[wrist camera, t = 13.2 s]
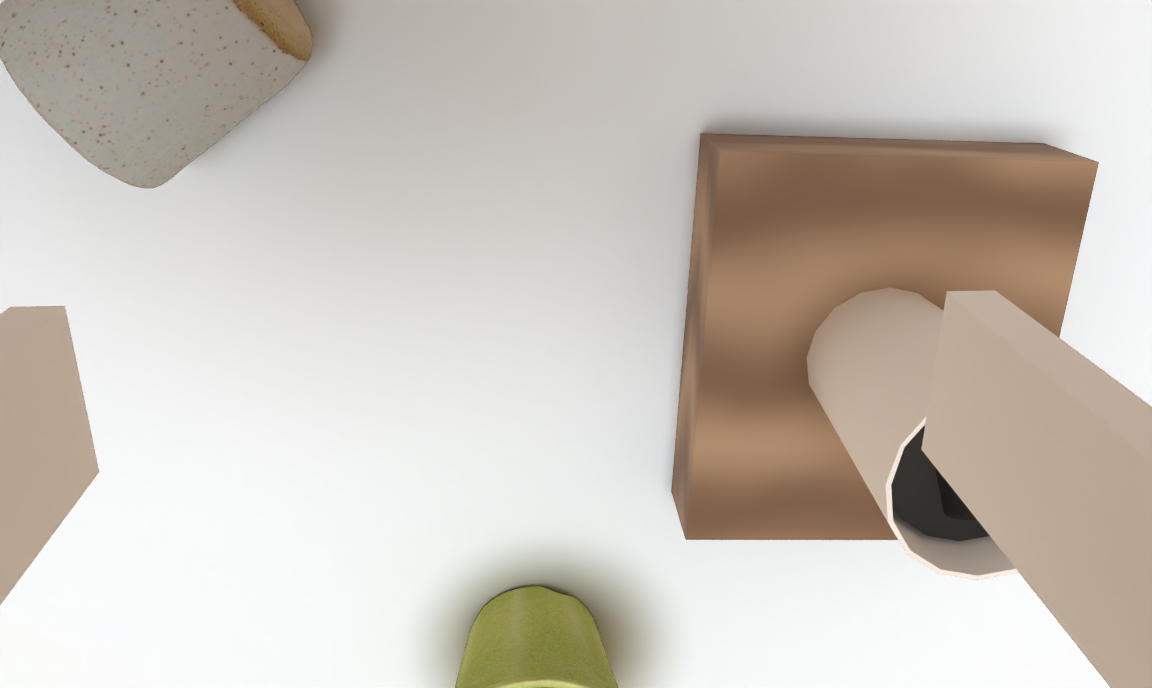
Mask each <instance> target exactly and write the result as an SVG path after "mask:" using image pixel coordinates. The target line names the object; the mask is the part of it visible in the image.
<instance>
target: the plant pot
mask: <svg viewBox="0 0 1152 688" xmlns="http://www.w3.org/2000/svg"><path fill="white" fill-rule="evenodd" d="M455 688H618V686H617V683H616V680H615V678H614V675H613V672H612V670H611V667H610V664H609V662H608V659H607V656H606V653H605V650H604V647H603V644H602V641H601V638H600V636H599V633H598V630H597V627H596V624H595V621H594V619H593V617H592V615H591V614H590V612H589V611H588V610H587V608H586V607H585V606H584V605H583V604H582V603H581V602H580V601H579V600H577V599H576V598H574V597H573V596H569V595H564V594H561V593H558V592H554V591H552V590H549V589H547V588H544V587H540V586H531V587H522V588H518V589H514V590H511V591H508V592H505V593H503V594H501V595H499V596H497V597H496V598H494V599H493V600H491V601H490V602H489V603H488V604H486V605H485V606H484V607H483V609H482V610H481V611H480V613H479V614H478V616H477V618H476V619H475V621H474V623H473V625H472V627H471V630H470V632H469V636H468V640H467V644H466V648H465V651H464V656H463V659H462V663H461V667H460V671H459V674H458V678H457V682H456V685H455Z"/></svg>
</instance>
